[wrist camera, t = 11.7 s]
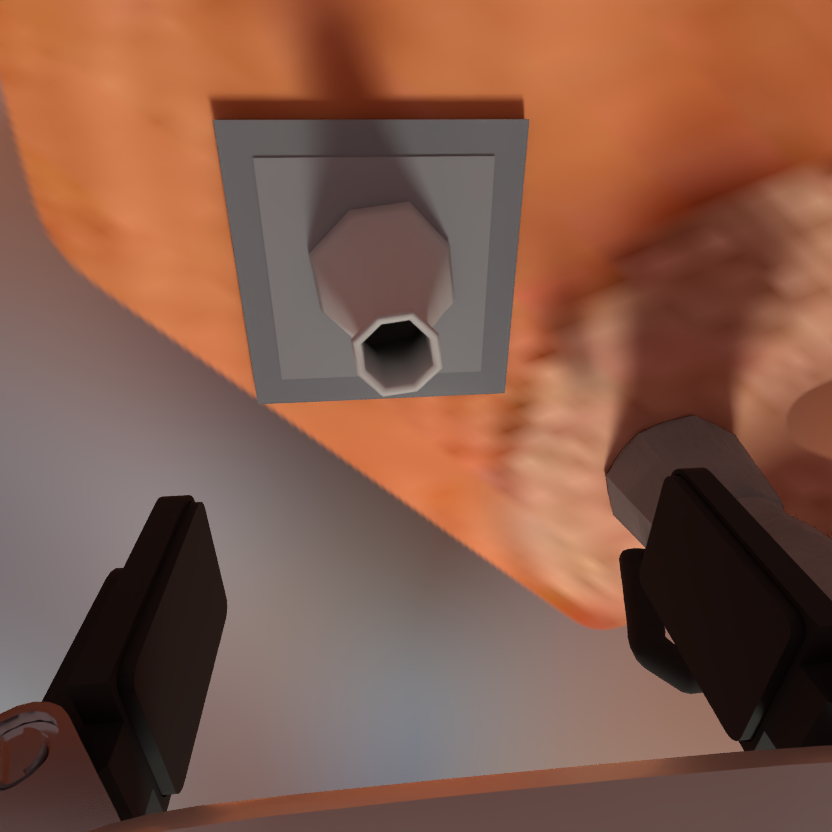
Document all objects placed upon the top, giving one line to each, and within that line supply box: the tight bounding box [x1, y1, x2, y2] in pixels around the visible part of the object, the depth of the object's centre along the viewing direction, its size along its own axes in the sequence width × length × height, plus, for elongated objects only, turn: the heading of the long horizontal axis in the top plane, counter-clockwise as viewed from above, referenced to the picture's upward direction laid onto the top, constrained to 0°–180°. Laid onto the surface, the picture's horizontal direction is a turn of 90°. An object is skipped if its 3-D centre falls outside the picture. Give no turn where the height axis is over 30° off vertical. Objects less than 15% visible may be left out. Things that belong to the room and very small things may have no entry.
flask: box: [309, 201, 455, 397], centre depth 24 cm, size 7×7×10 cm
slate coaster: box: [213, 119, 529, 404], centre depth 29 cm, size 14×14×1 cm
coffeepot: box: [606, 415, 832, 694], centre depth 30 cm, size 15×9×18 cm, turn 85°
